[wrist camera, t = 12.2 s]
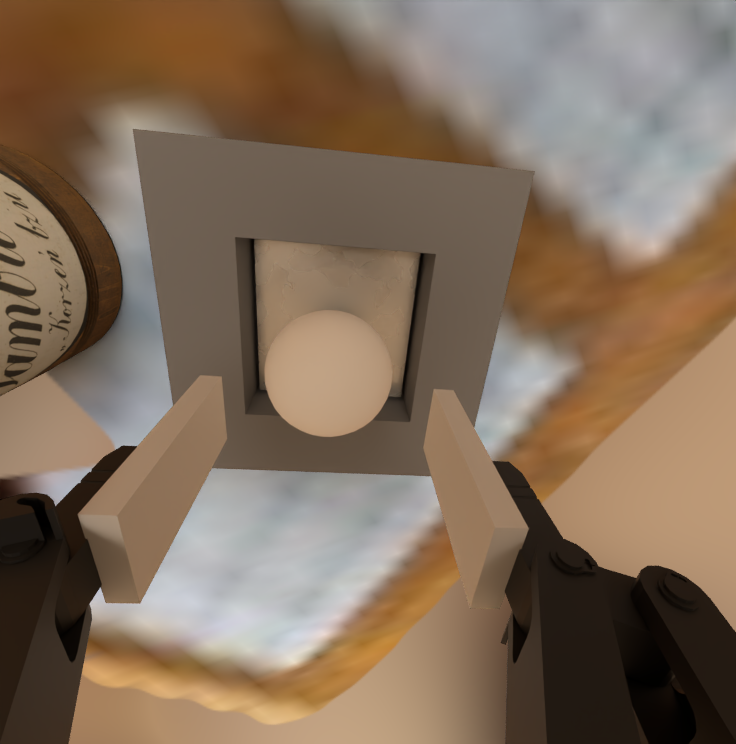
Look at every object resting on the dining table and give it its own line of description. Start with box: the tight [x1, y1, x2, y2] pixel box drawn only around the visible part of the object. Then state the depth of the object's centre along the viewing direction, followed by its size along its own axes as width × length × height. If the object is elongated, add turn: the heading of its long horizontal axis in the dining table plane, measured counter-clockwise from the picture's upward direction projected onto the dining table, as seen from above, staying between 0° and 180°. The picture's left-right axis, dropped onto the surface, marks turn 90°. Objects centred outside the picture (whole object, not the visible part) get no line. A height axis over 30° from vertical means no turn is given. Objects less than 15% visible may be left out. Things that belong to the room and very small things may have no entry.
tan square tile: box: [254, 239, 420, 397], centre depth 27 cm, size 10×10×3 cm
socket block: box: [133, 129, 535, 476], centre depth 26 cm, size 20×20×7 cm
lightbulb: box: [265, 310, 393, 437], centre depth 20 cm, size 6×6×11 cm
